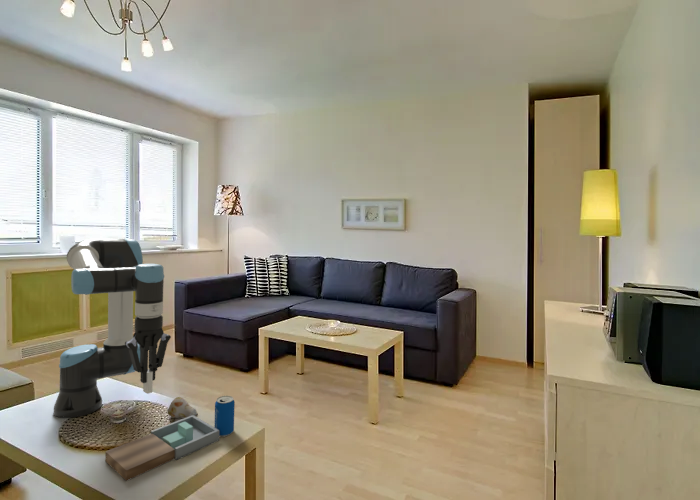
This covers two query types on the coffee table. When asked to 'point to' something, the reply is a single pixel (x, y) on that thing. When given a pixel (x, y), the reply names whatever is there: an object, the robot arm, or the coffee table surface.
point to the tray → (201, 435)
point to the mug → (181, 408)
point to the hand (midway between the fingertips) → (147, 391)
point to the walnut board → (139, 456)
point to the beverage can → (224, 415)
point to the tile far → (186, 430)
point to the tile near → (175, 439)
